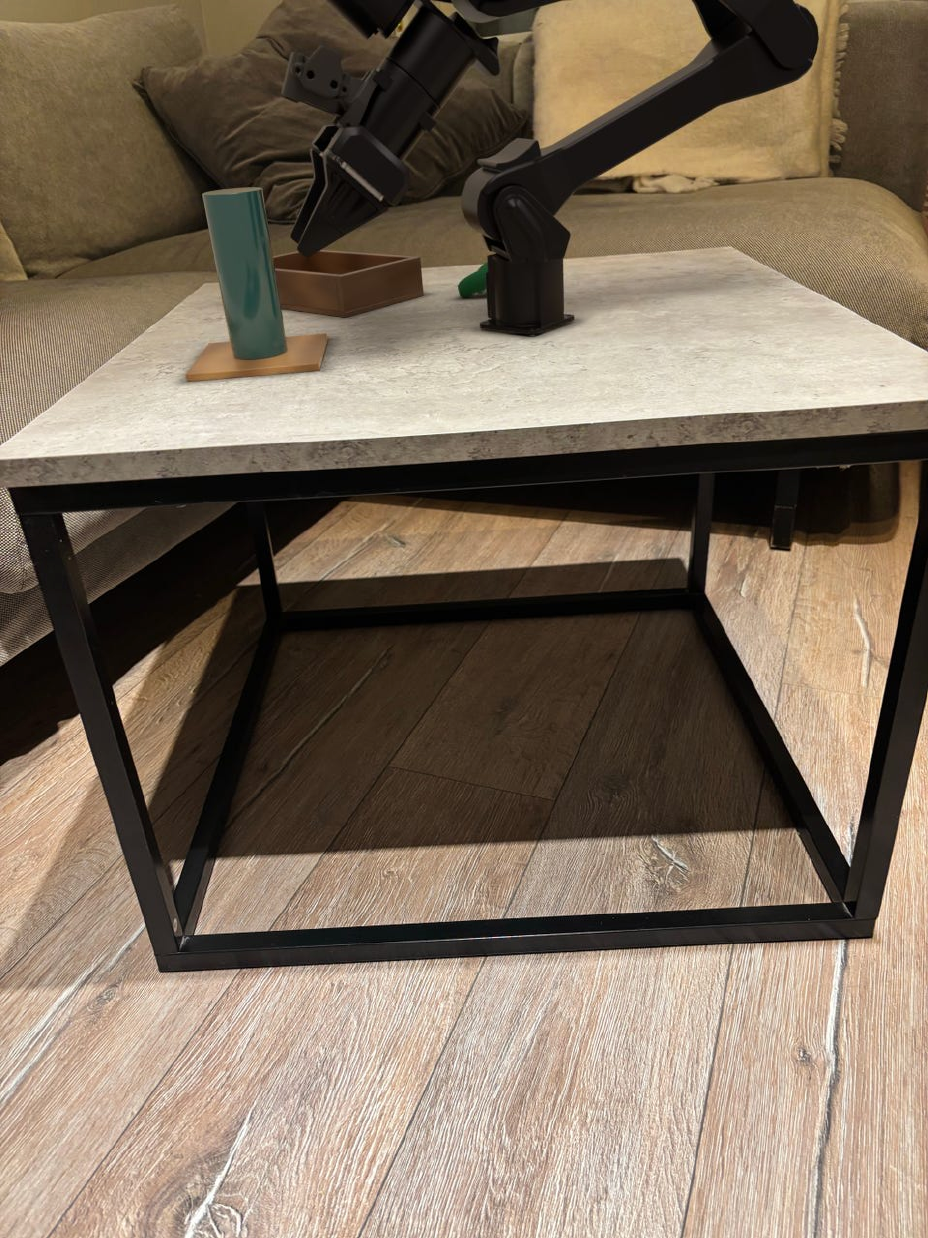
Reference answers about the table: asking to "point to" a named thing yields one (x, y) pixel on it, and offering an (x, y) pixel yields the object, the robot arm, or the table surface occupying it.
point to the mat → (259, 360)
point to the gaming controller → (474, 283)
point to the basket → (346, 281)
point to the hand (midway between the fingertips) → (297, 246)
